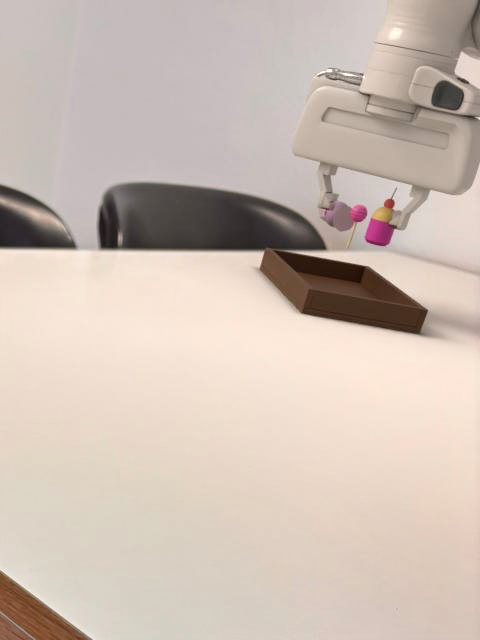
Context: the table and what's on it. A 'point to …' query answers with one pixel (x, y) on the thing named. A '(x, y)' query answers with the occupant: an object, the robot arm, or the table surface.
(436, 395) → the table surface
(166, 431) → the table surface
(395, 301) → the tray
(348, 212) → the candy
